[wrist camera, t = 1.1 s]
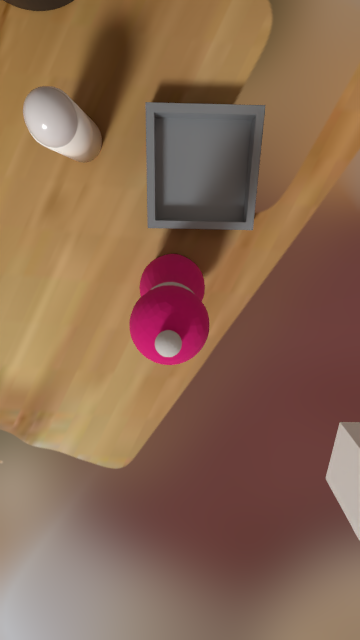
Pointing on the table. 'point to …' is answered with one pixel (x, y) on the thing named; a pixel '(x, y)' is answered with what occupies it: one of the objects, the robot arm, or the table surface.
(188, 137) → the tray
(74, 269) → the table surface
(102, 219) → the table surface
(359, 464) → the robot arm
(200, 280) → the pepper mill
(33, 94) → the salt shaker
